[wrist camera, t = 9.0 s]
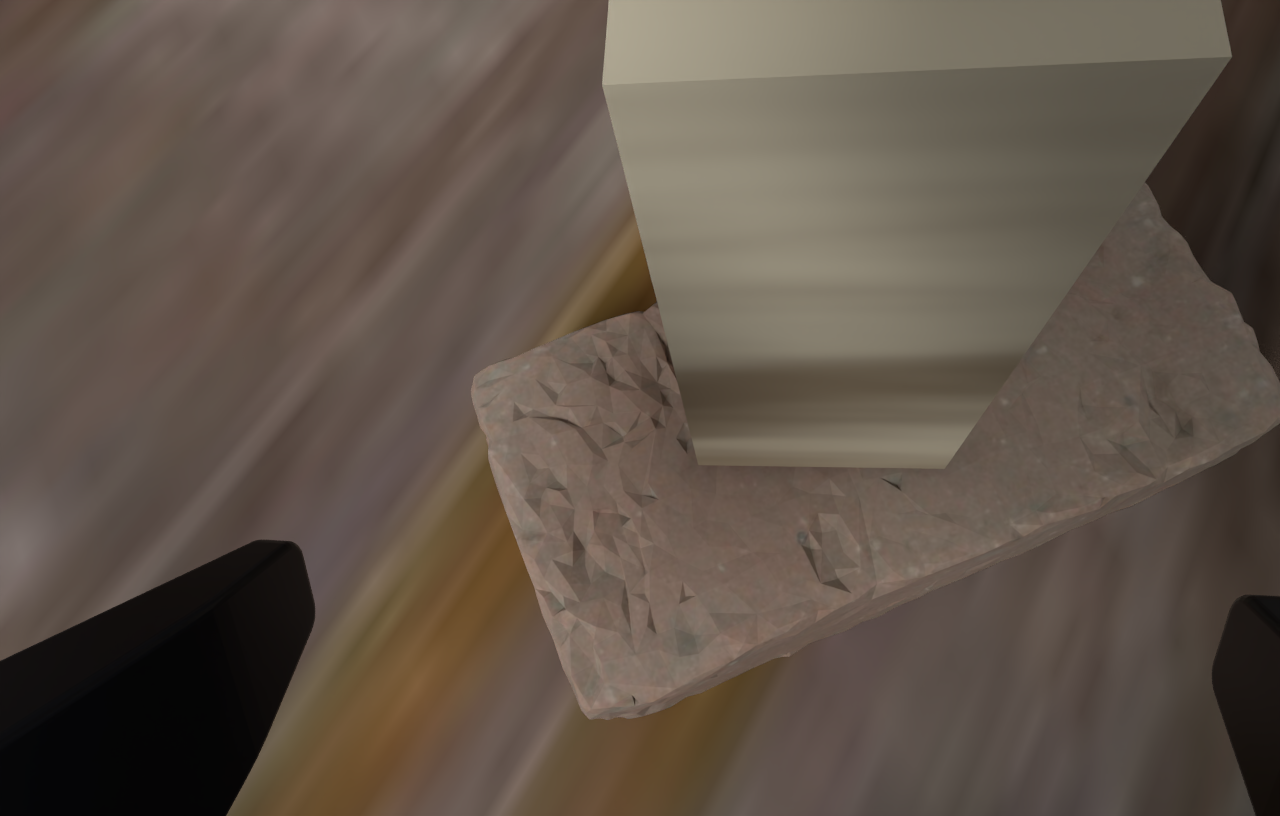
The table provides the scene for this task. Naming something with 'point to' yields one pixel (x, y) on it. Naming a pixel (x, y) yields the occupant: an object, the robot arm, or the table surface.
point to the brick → (847, 477)
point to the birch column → (881, 198)
